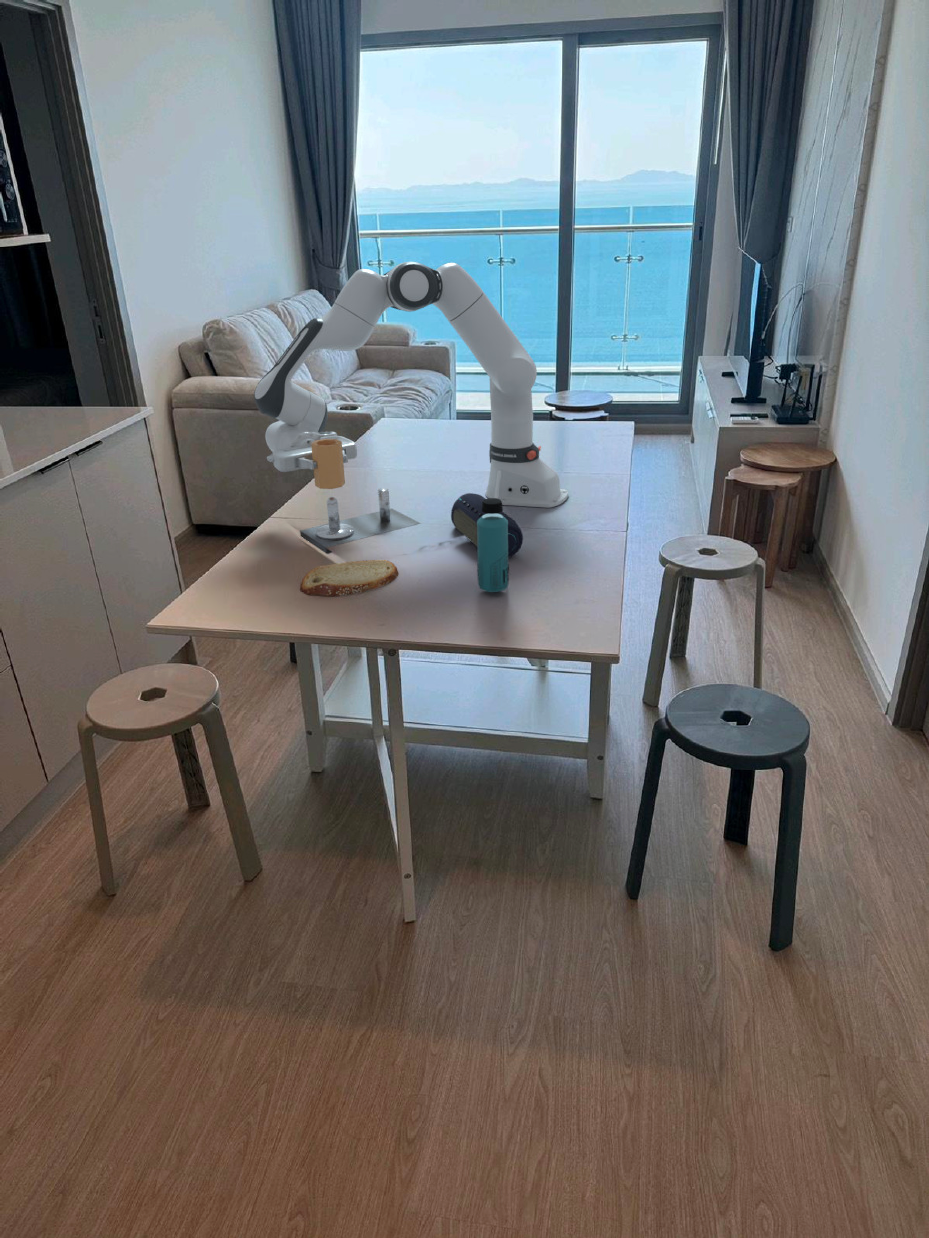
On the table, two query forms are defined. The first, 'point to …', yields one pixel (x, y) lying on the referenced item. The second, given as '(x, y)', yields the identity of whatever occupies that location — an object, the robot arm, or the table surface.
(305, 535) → the board
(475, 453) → the table surface
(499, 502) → the beverage bottle
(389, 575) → the slice of bread
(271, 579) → the table surface
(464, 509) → the portable speaker
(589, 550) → the table surface
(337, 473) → the sleeve
